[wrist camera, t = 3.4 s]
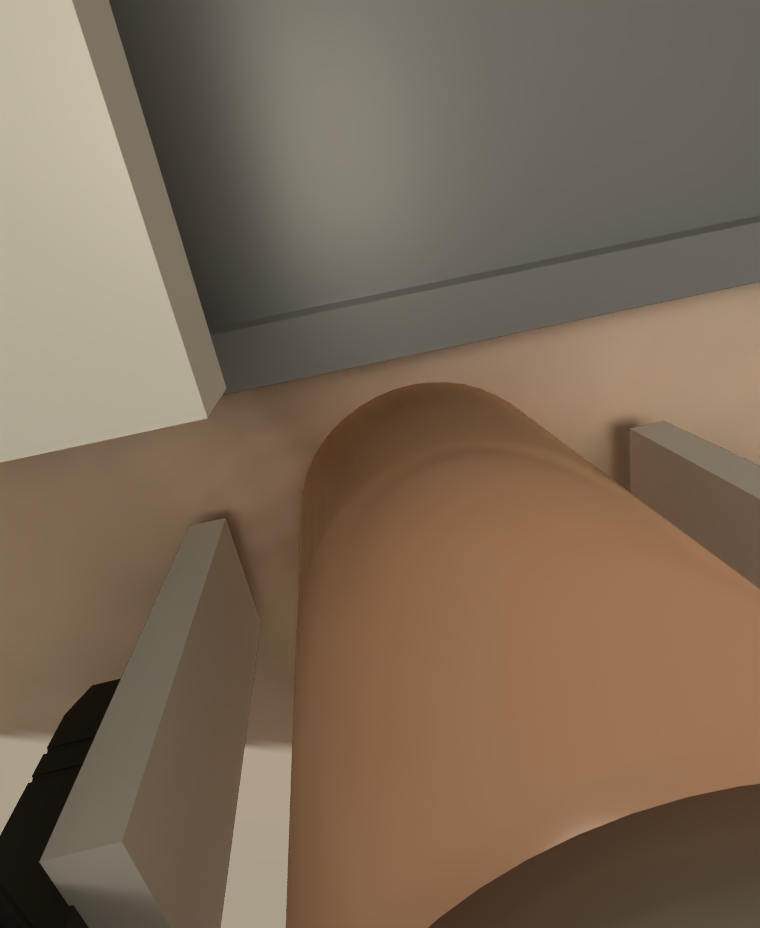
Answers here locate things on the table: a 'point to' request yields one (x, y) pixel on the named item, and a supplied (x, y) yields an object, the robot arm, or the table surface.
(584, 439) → the table surface
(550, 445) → the jar terracotta
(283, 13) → the lane
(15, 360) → the pusher
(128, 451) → the table surface
